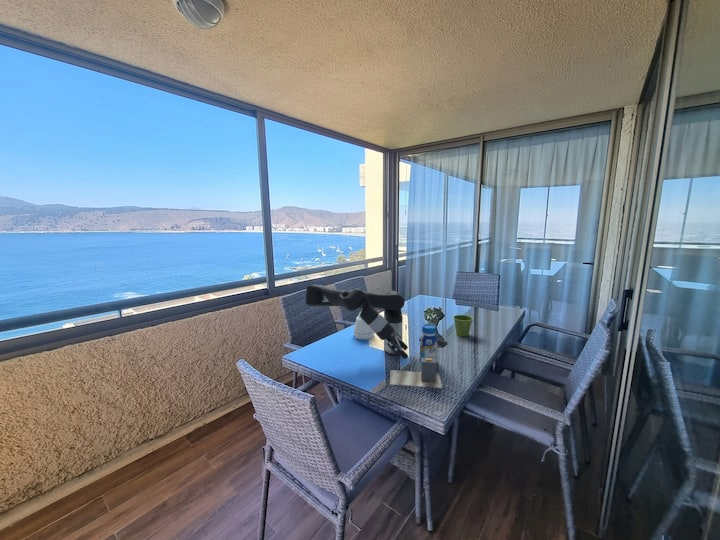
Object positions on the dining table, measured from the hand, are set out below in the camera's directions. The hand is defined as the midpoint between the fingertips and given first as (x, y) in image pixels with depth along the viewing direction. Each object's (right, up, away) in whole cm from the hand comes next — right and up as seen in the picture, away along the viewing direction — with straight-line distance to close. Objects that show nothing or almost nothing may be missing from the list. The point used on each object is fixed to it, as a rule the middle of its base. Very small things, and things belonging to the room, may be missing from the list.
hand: (406, 353), depth 126 cm
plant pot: (+44, -5, +55) cm, 70 cm away
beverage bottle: (+14, -11, +18) cm, 25 cm away
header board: (+4, -13, +2) cm, 14 cm away
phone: (+23, -7, +45) cm, 51 cm away
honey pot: (-18, -5, +56) cm, 59 cm away
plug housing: (+10, -12, +1) cm, 15 cm away
